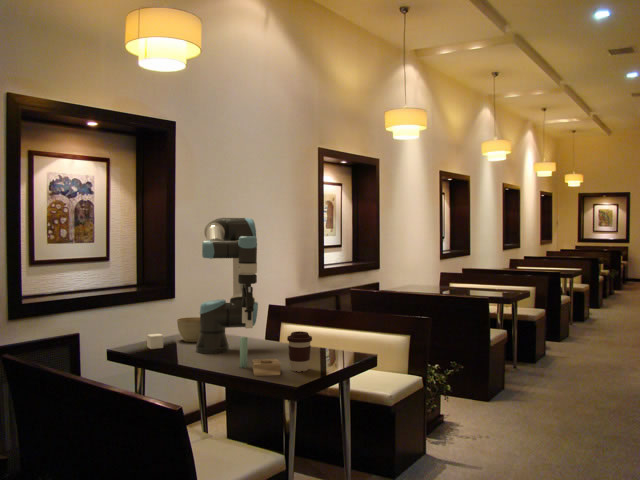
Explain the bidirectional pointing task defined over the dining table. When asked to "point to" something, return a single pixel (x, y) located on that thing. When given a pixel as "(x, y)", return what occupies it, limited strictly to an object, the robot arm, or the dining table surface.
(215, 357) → the dining table surface
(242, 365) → the peg
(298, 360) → the coffee cup
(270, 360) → the hole block
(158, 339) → the cream cube
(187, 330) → the planter bowl
